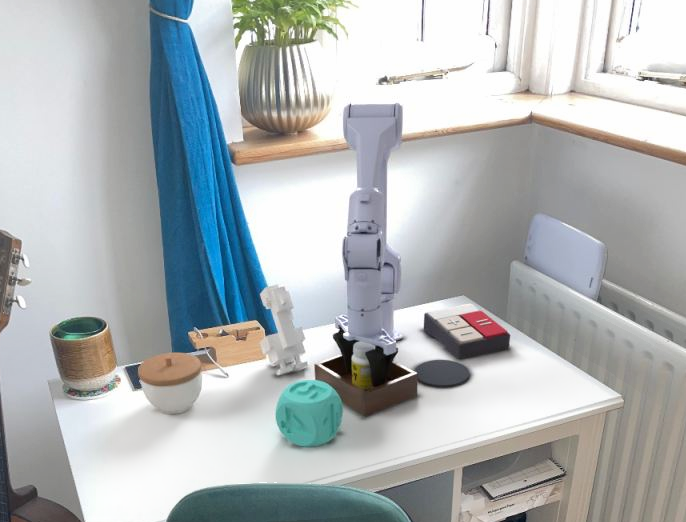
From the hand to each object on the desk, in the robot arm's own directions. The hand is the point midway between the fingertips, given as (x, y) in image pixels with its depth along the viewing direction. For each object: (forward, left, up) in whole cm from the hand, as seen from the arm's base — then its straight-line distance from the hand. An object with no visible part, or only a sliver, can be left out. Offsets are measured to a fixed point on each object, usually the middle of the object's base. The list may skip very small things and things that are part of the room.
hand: (365, 377), depth 141 cm
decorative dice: (+6, -16, -3) cm, 17 cm away
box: (0, 0, -3) cm, 3 cm away
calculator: (-4, +28, -3) cm, 28 cm away
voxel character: (-17, -6, -3) cm, 18 cm away
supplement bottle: (0, 0, -2) cm, 2 cm away
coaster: (+4, +15, -3) cm, 15 cm away
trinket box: (-17, -29, -3) cm, 34 cm away
